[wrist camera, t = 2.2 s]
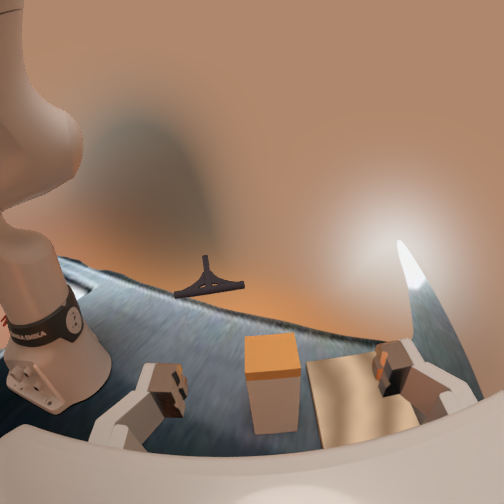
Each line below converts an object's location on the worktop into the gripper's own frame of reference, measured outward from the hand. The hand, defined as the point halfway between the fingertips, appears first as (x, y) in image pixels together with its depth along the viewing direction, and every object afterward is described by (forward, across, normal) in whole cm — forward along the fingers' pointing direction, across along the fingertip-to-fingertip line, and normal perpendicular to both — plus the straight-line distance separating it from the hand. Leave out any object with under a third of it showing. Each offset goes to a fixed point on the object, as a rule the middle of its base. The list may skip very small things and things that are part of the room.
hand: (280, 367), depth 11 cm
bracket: (+49, +12, +24) cm, 56 cm away
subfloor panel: (+12, -13, +23) cm, 29 cm away
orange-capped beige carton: (+12, 0, +23) cm, 26 cm away
